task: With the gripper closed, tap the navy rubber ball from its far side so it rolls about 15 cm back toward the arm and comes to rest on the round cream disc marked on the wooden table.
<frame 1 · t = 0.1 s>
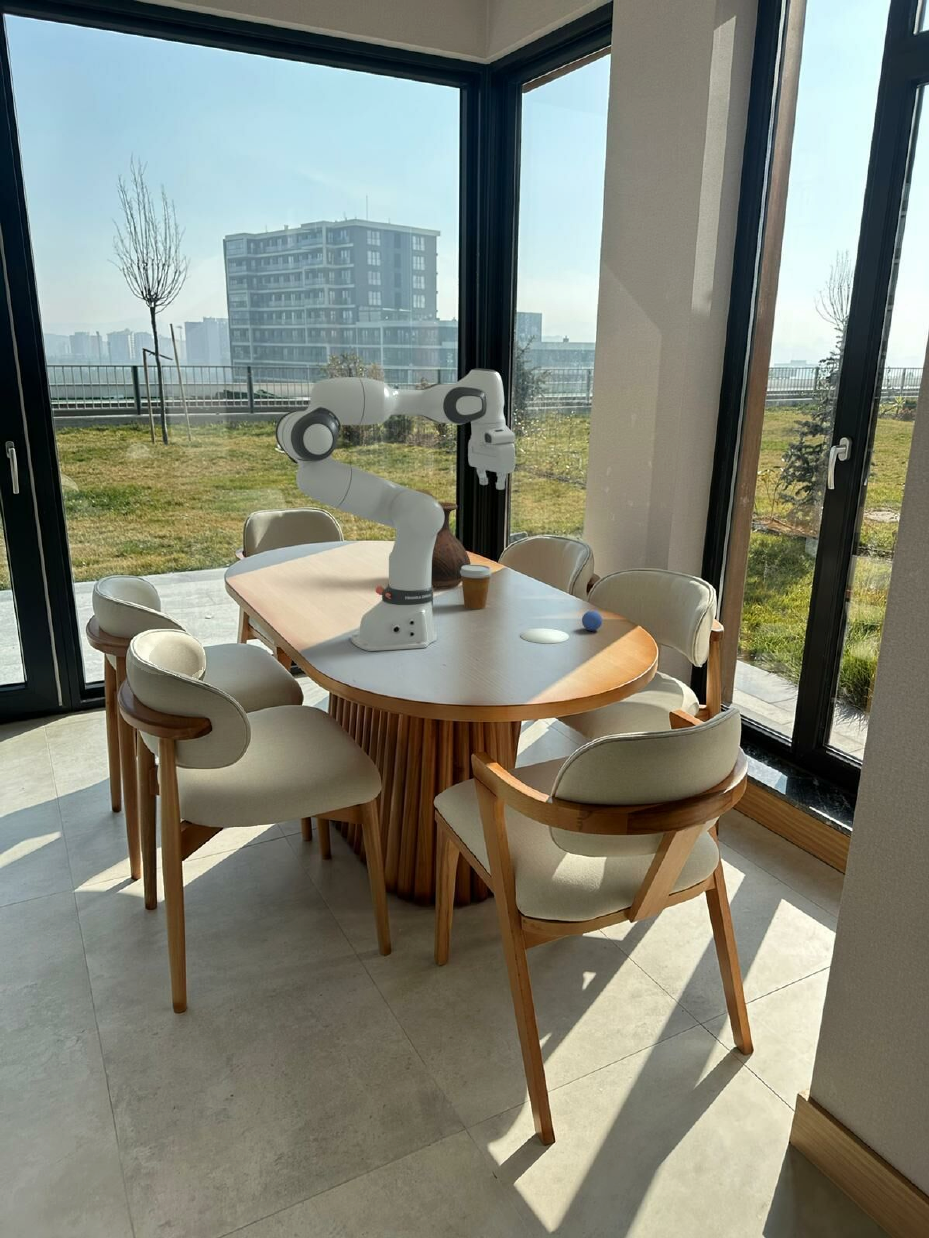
hand: (492, 486, 228), 39 cm above the table, tool pointing down, fingers open, 8 cm apart
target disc: (544, 636, 233), on the table
jug: (437, 584, 287), on the table
ball: (592, 620, 238), on the table
disposable coffee cup: (475, 607, 261), on the table
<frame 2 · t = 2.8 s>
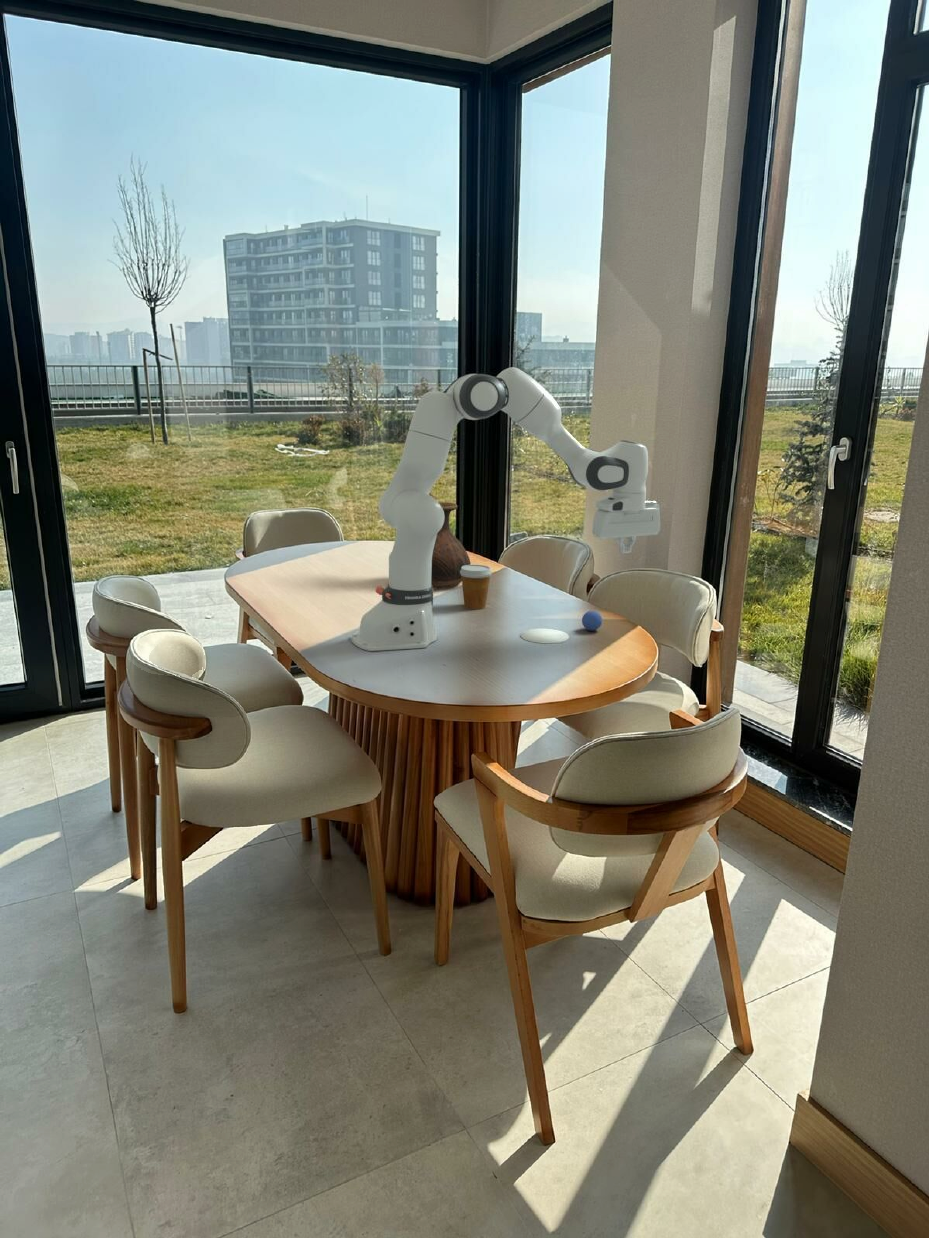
hand: (625, 552, 237), 21 cm above the table, tool pointing down, fingers closed
nothing on the table moved.
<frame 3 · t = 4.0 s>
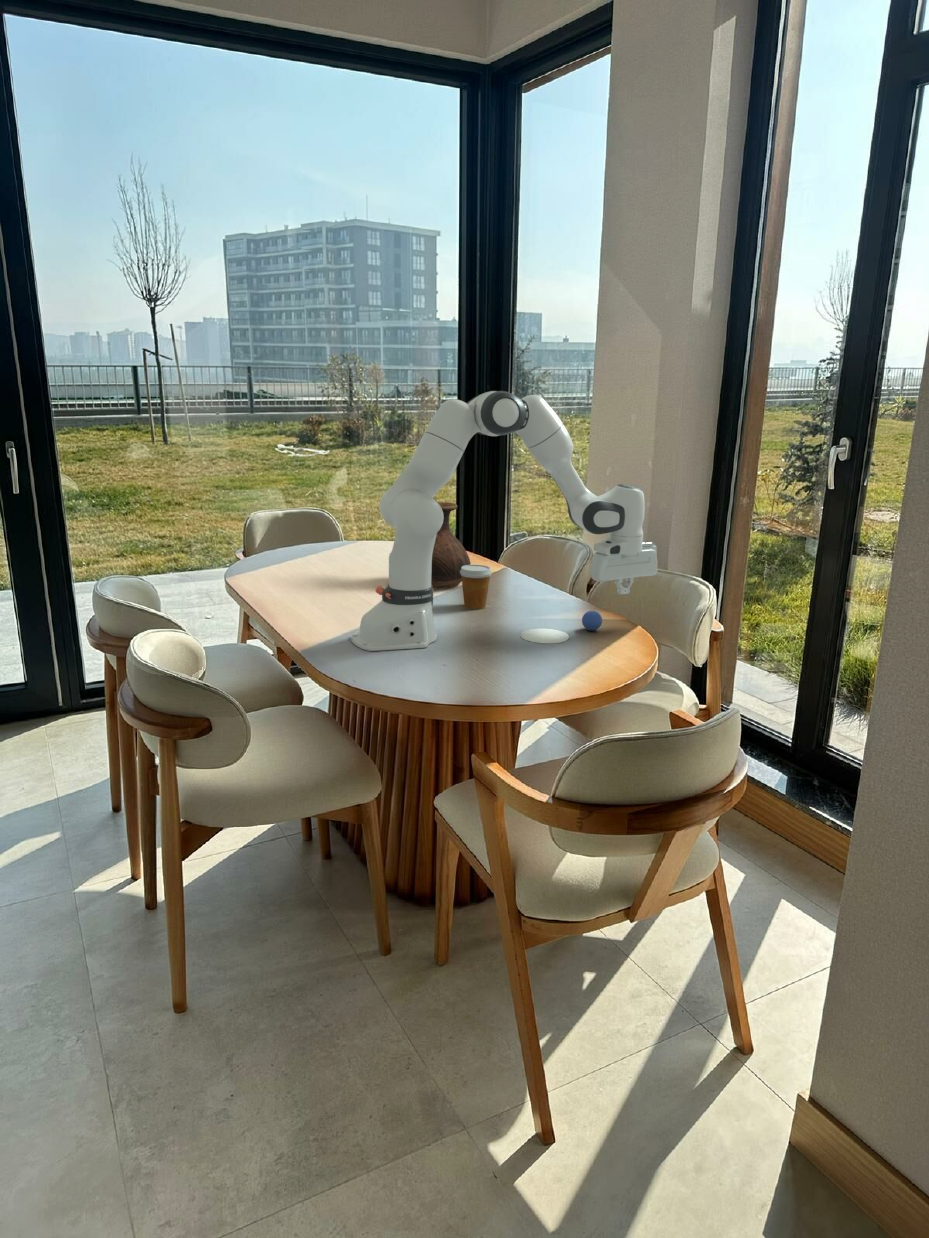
hand: (623, 593, 241), 9 cm above the table, tool pointing down, fingers closed
nothing on the table moved.
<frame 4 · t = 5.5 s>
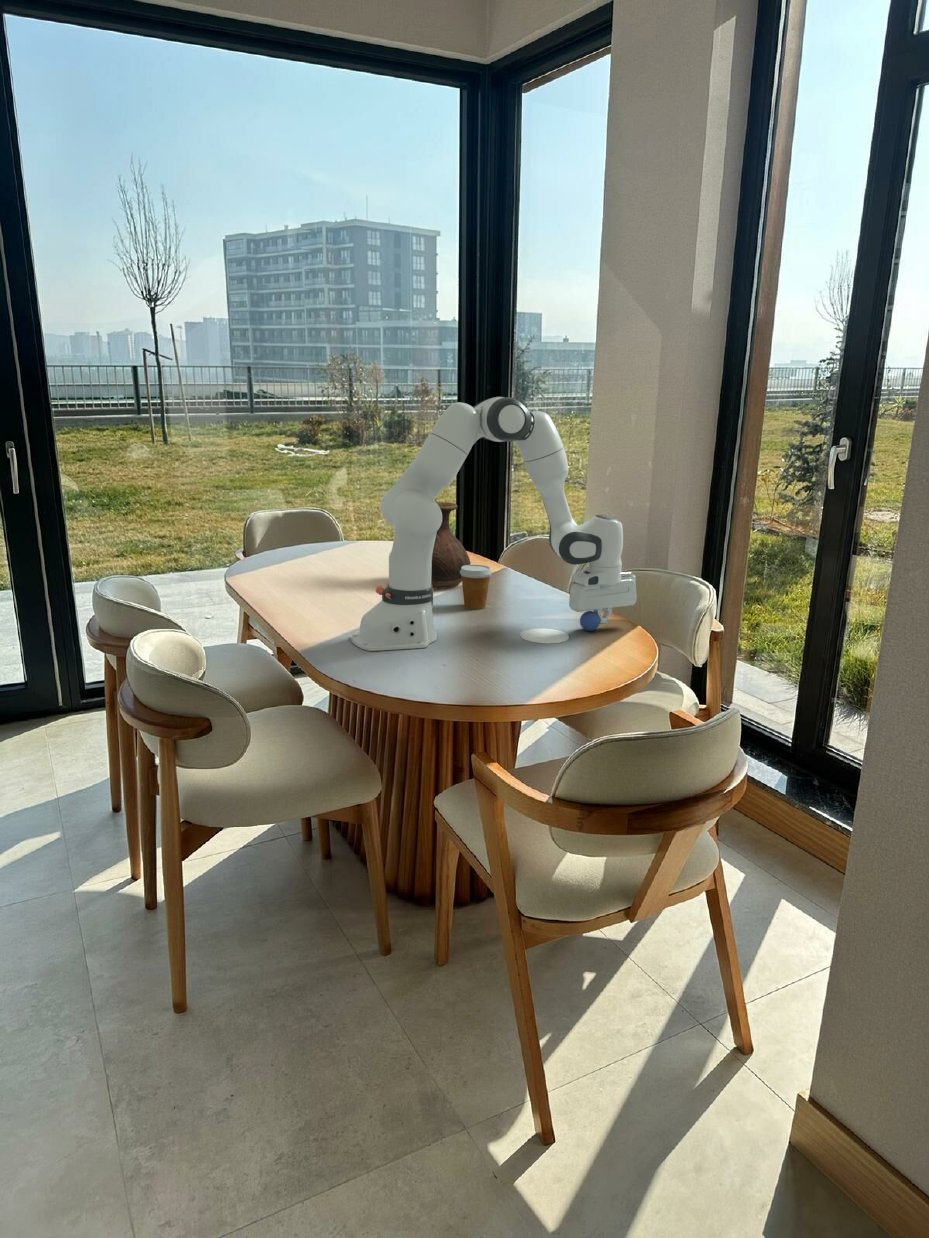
hand: (602, 623, 240), 2 cm above the table, tool pointing down, fingers closed
ball: (589, 621, 238), on the table, touching gripper
everything else where it was.
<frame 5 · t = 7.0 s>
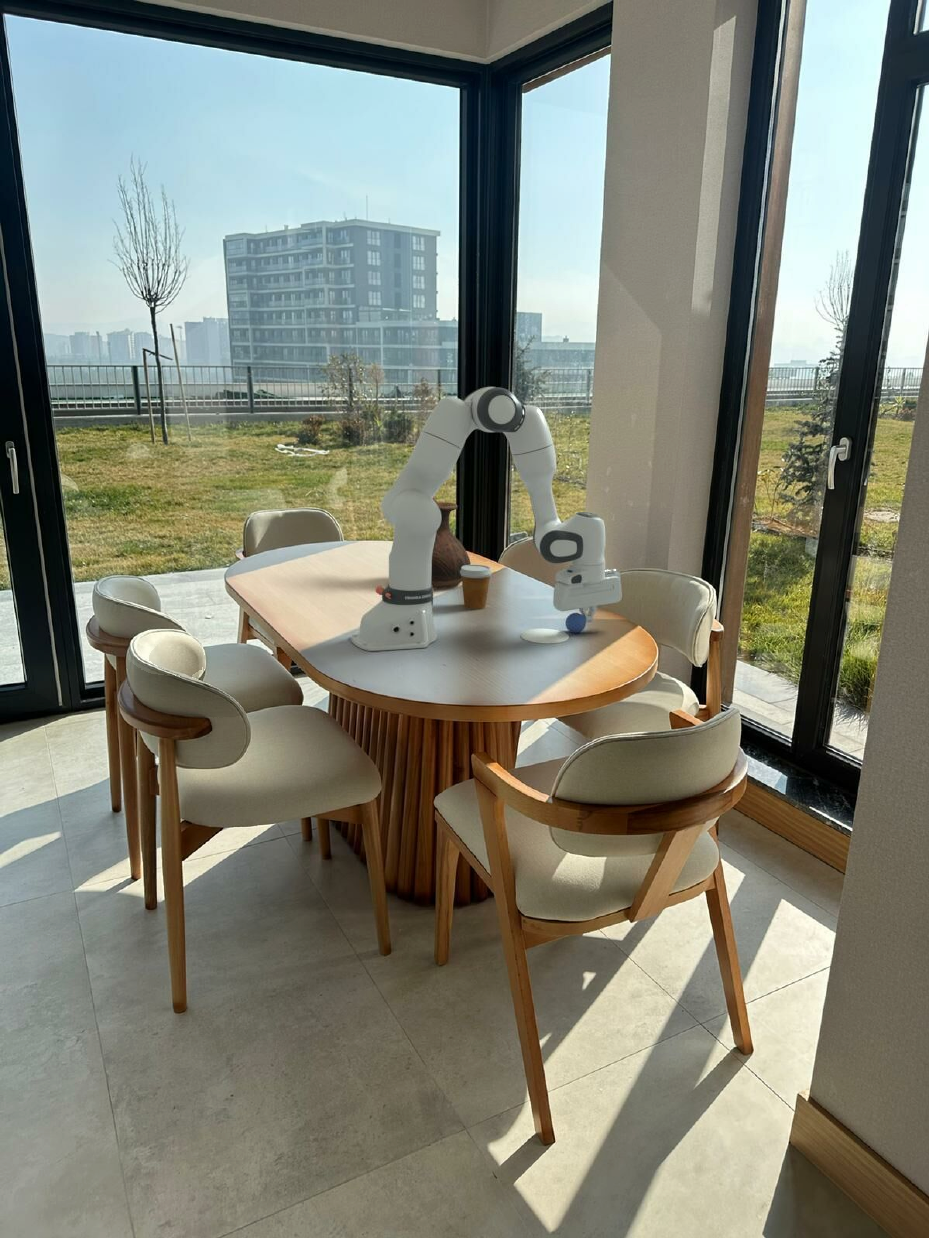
hand: (587, 621, 238), 3 cm above the table, tool pointing down, fingers closed
ball: (575, 622, 236), on the table, touching gripper
everything else where it was.
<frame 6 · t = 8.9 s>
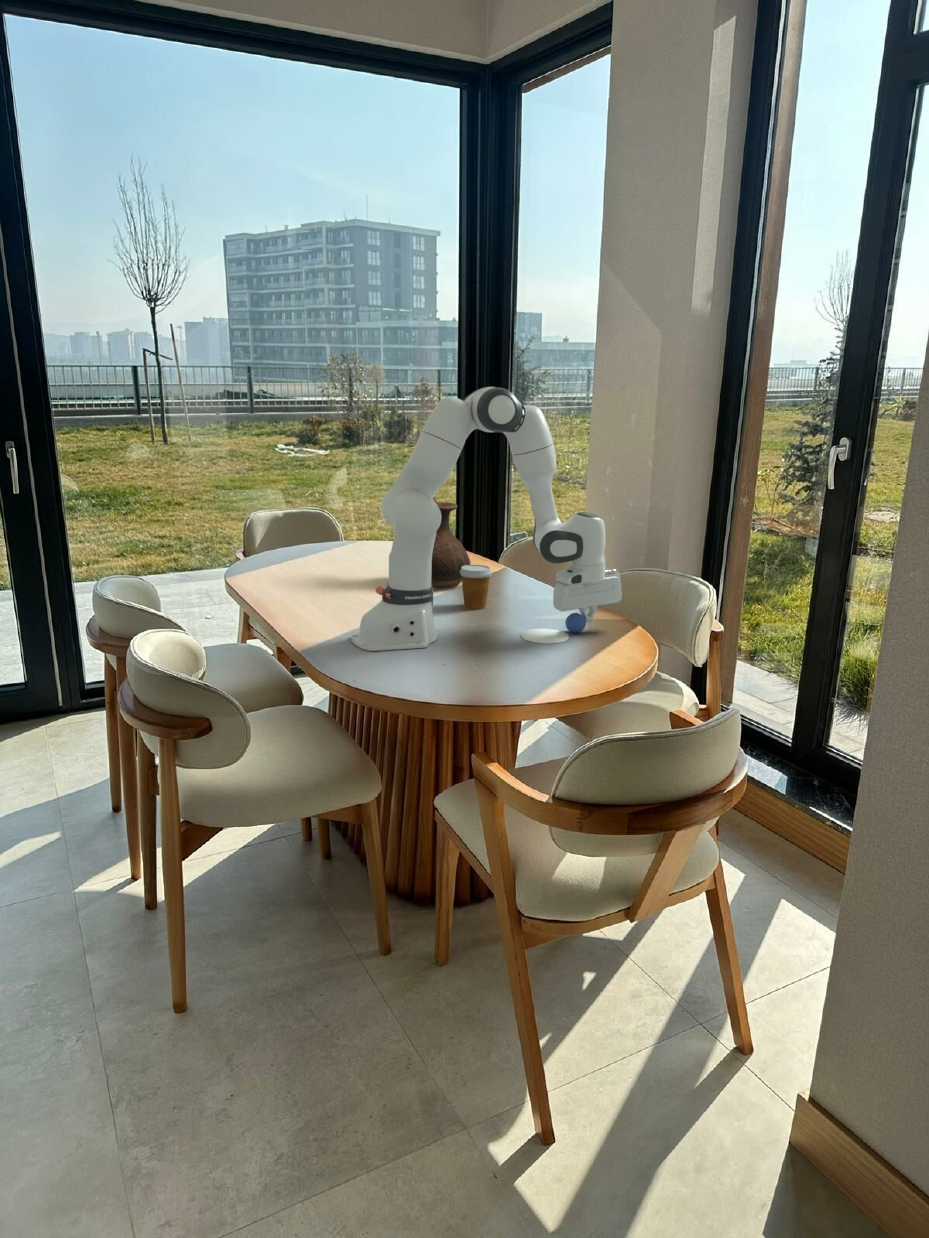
hand: (587, 621, 238), 3 cm above the table, tool pointing down, fingers closed
nothing on the table moved.
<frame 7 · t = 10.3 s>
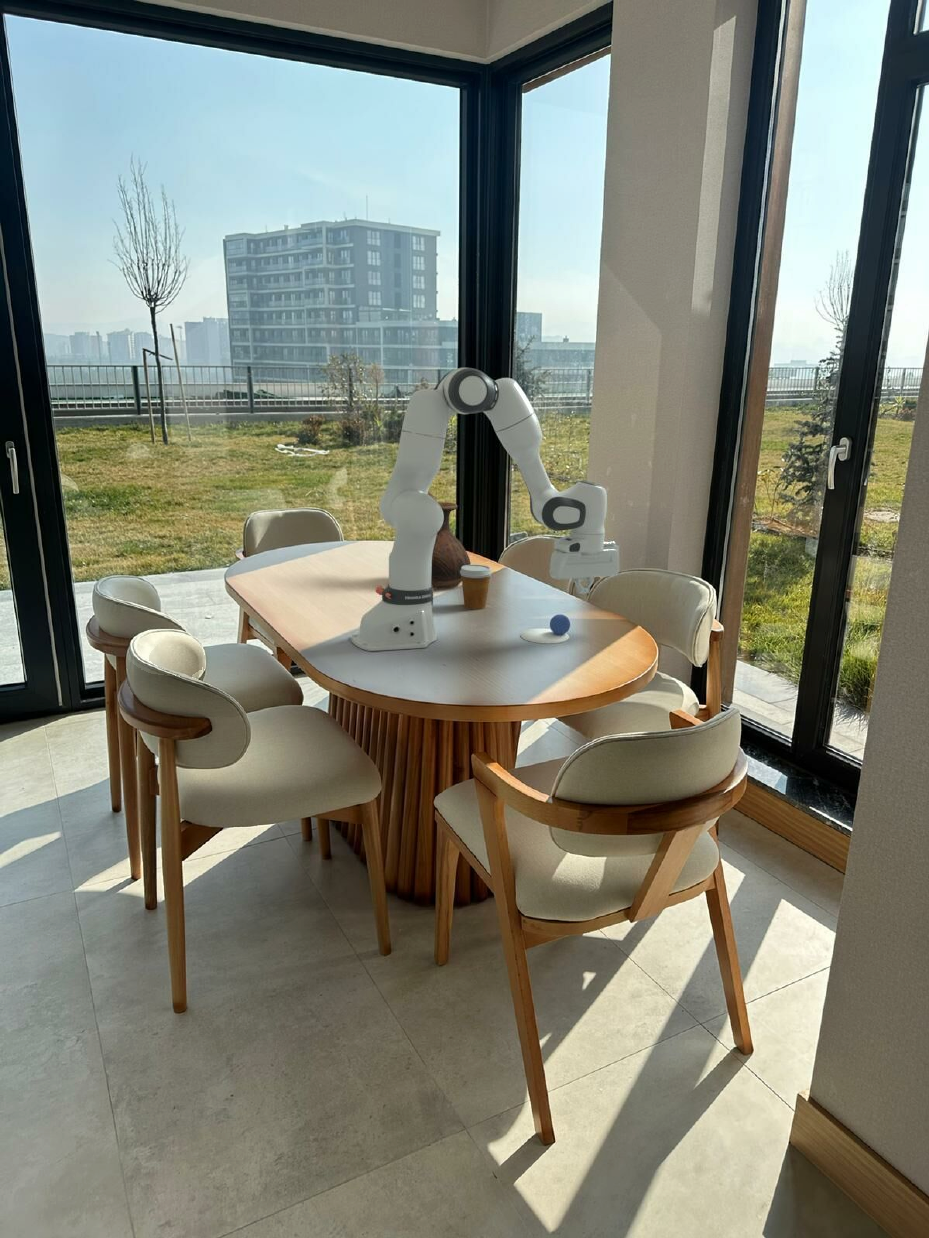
hand: (582, 593, 235), 11 cm above the table, tool pointing down, fingers closed
ball: (559, 624, 234), on the table
everything else where it was.
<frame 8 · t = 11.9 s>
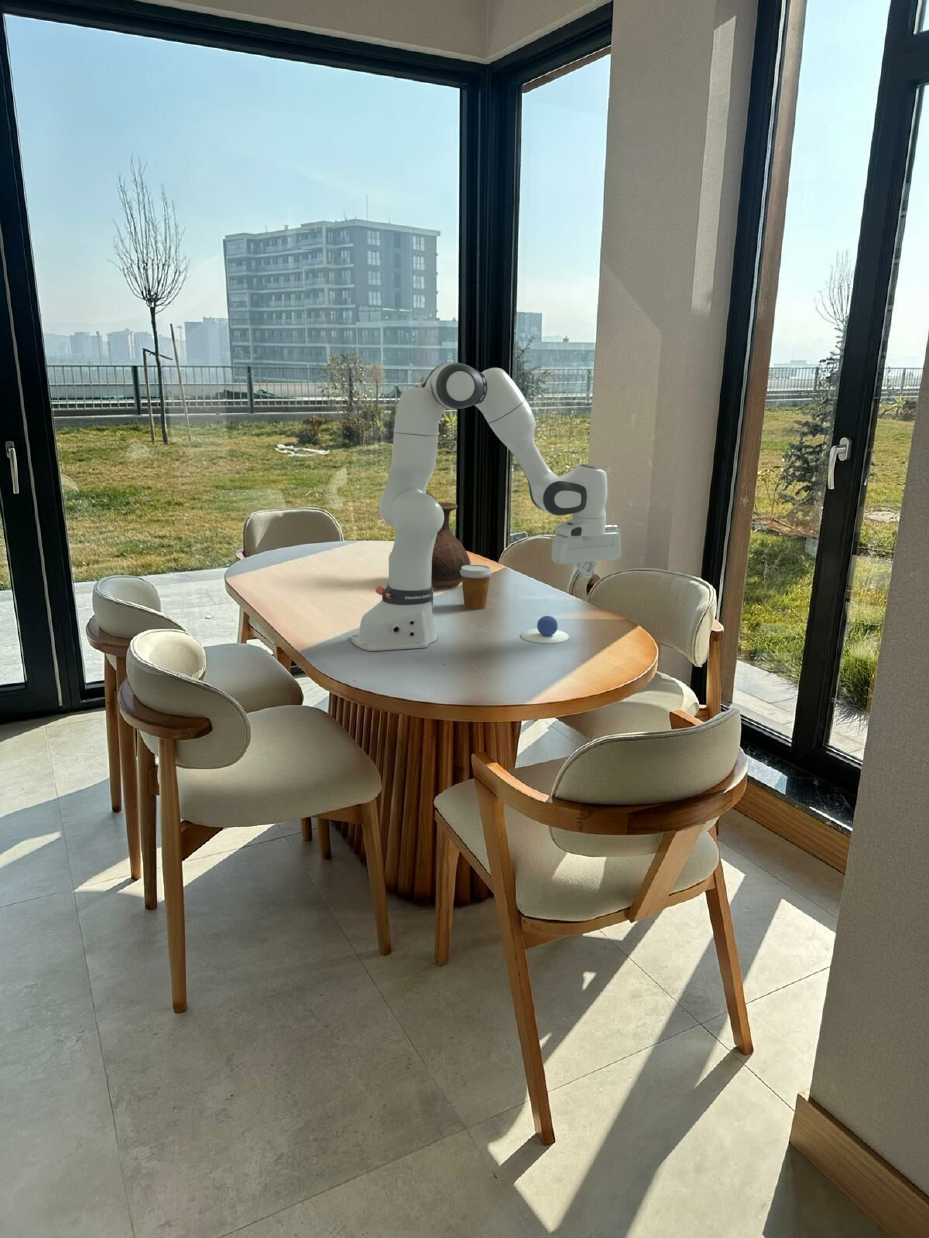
hand: (585, 577, 234), 15 cm above the table, tool pointing down, fingers closed
ball: (547, 625, 233), on the table
everything else where it was.
at the end: ball 0.9 cm from the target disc (horizontally); ball at rest at the end (0.0 cm/s); ball moved 14.2 cm from its start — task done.
